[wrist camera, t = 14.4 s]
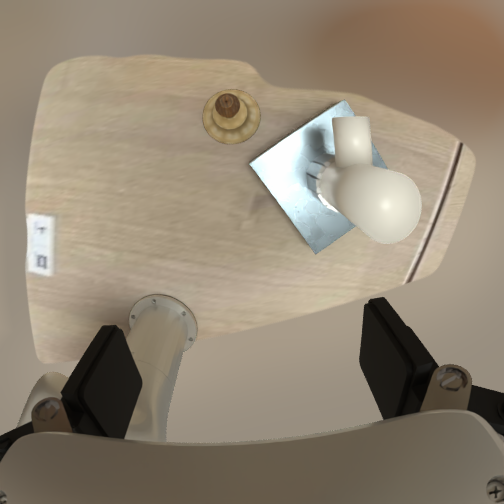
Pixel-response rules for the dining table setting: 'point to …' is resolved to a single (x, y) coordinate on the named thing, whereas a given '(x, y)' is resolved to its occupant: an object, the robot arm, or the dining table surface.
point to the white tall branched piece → (368, 185)
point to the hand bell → (231, 116)
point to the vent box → (308, 177)
